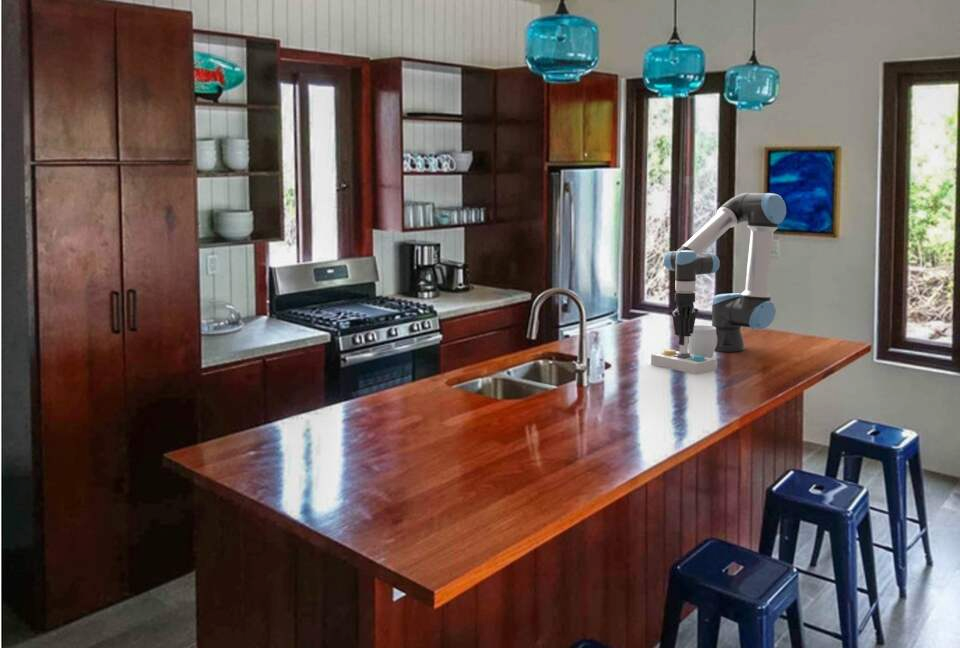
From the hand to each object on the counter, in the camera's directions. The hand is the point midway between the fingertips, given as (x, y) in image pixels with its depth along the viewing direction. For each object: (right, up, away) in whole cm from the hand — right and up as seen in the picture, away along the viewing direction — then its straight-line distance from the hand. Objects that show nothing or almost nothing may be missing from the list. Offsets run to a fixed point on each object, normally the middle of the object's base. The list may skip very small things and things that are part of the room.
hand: (683, 352), depth 340 cm
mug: (+11, -3, +14) cm, 18 cm away
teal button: (+4, -5, -5) cm, 8 cm away
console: (0, -5, +1) cm, 6 cm away
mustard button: (-4, -3, +6) cm, 8 cm away
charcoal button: (0, -4, +1) cm, 4 cm away
